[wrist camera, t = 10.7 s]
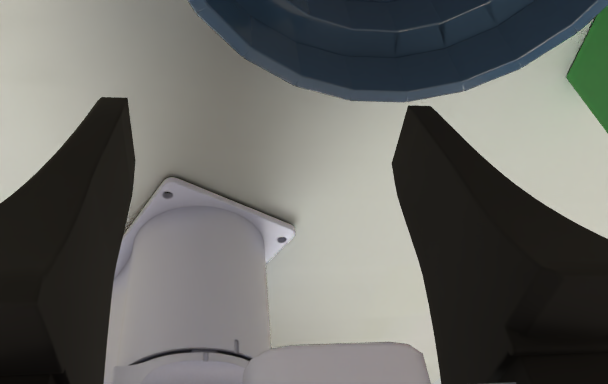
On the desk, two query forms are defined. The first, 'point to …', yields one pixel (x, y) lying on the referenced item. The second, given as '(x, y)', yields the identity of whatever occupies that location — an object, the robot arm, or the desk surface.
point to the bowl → (394, 41)
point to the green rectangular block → (593, 69)
